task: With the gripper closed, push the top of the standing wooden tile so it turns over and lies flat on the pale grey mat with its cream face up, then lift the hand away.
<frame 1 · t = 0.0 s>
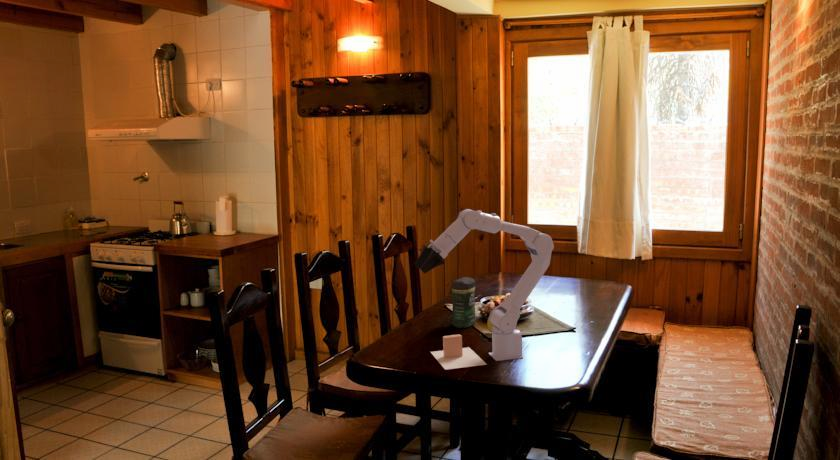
hand: (419, 269, 212), 32 cm above the table, tool tilted 50°, fingers open, 7 cm apart
tile: (453, 356, 224), resting on mat
coffee jar: (464, 325, 261), on the table
lemon: (495, 334, 248), on the table
mat: (457, 359, 223), on the table
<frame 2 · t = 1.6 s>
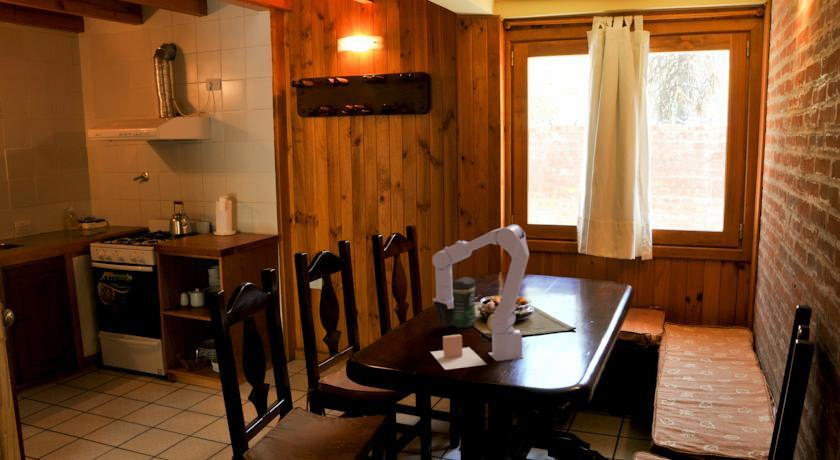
hand: (445, 323, 231), 9 cm above the table, tool pointing down, fingers open, 5 cm apart
nothing on the table moved.
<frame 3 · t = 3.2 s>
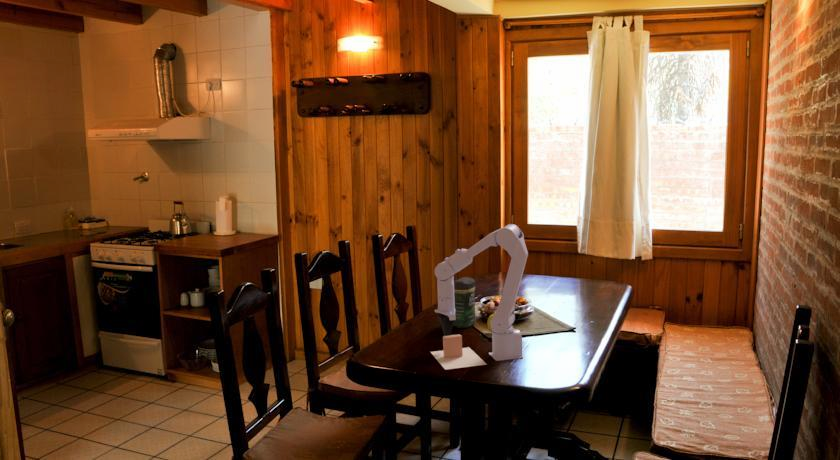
hand: (447, 335, 230), 6 cm above the table, tool pointing down, fingers closed
nothing on the table moved.
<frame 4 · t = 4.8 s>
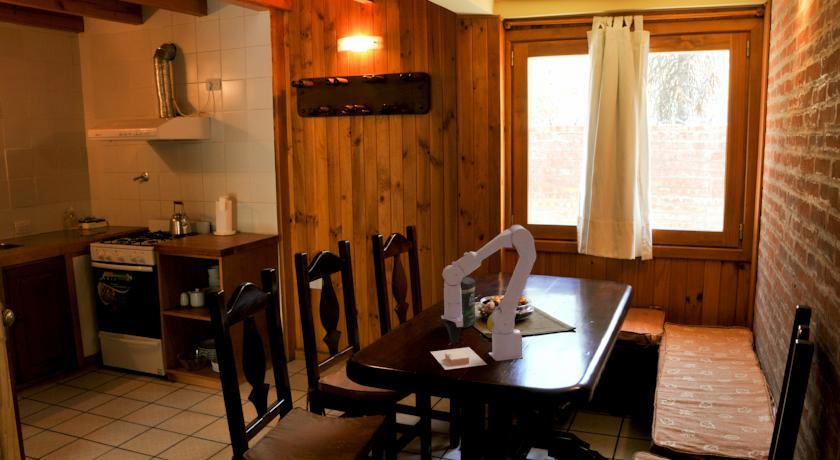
hand: (454, 342, 222), 6 cm above the table, tool pointing down, fingers closed
tile: (453, 354, 223), point 1 cm above the table, tilted 90°, touching mat
everything else where it was.
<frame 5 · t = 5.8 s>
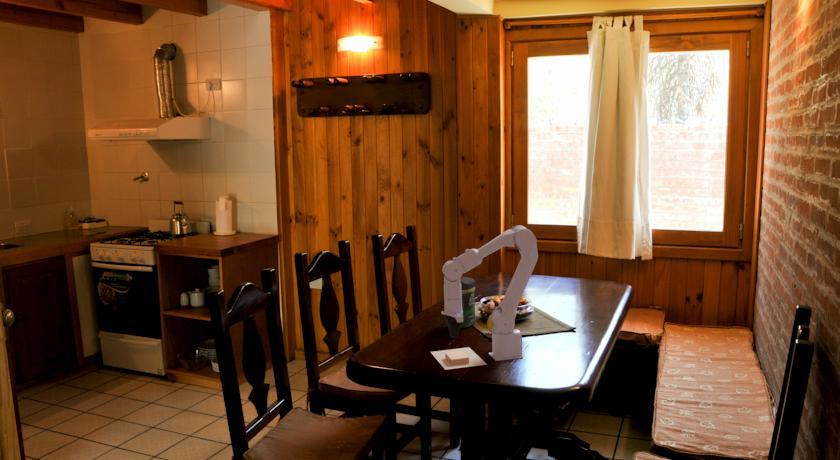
hand: (454, 337, 221), 7 cm above the table, tool pointing down, fingers closed
nothing on the table moved.
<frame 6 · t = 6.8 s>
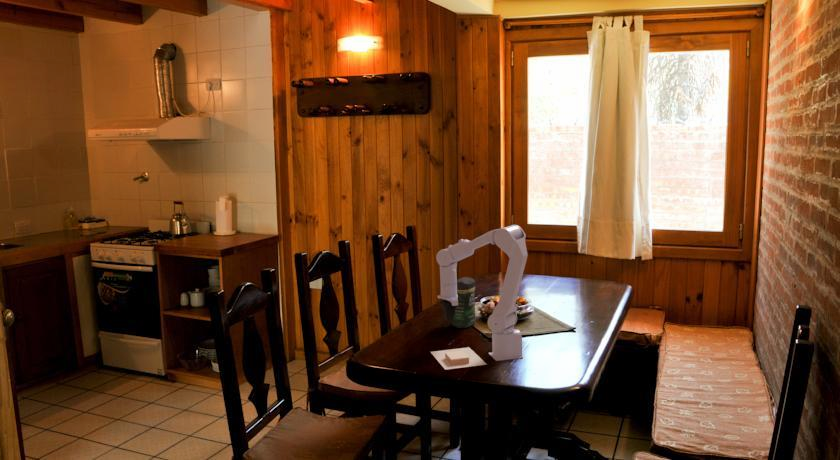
hand: (449, 320, 234), 9 cm above the table, tool pointing down, fingers closed
nothing on the table moved.
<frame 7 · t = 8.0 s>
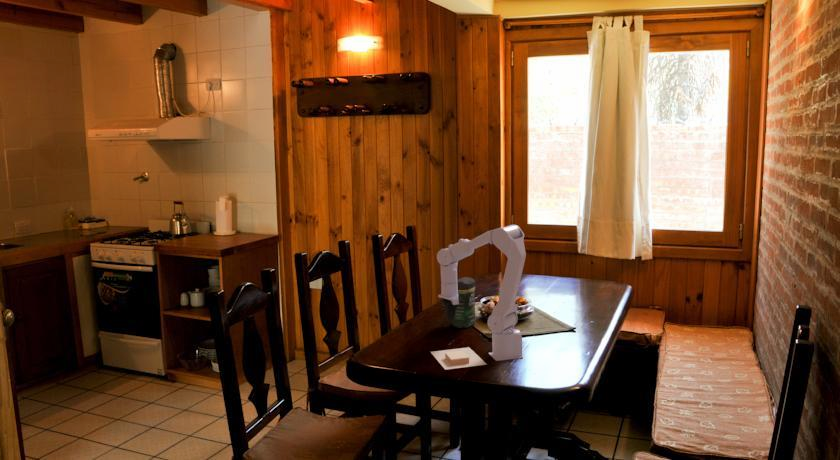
hand: (450, 319, 235), 9 cm above the table, tool pointing down, fingers closed
nothing on the table moved.
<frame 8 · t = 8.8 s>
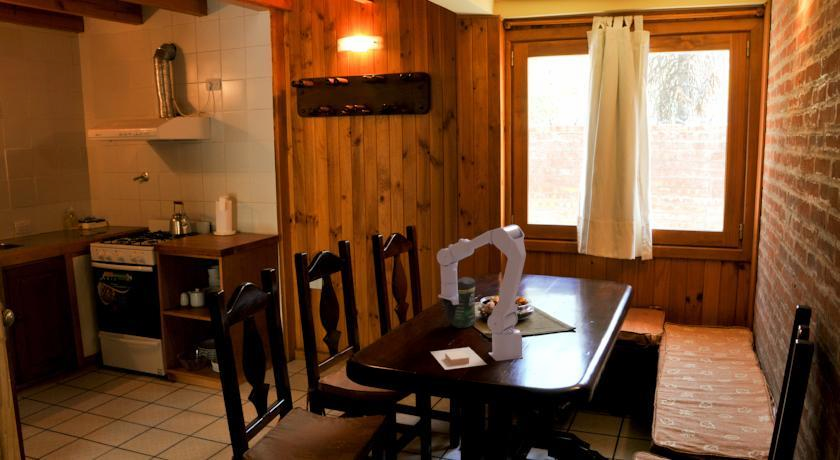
hand: (450, 319, 235), 9 cm above the table, tool pointing down, fingers closed
nothing on the table moved.
at the end: tile tilted 90°; tile inside the target area (1.4 cm from its centre), point 1.4 cm above the table; tile touching mat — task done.
